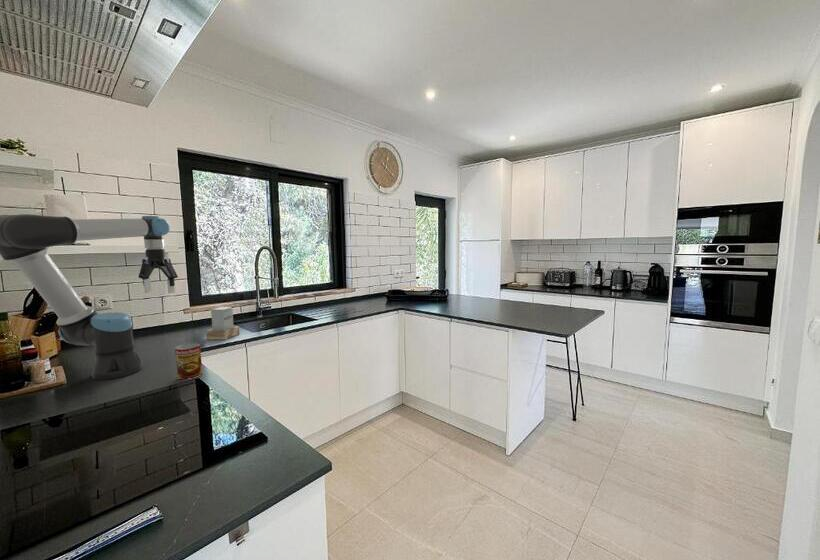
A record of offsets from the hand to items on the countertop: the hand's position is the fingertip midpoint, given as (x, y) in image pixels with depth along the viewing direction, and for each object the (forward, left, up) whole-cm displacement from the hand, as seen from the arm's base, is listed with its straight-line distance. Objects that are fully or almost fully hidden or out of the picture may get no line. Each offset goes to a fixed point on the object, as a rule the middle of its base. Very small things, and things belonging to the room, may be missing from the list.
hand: (159, 292), depth 166 cm
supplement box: (+19, -17, -24) cm, 35 cm away
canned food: (-30, -44, -27) cm, 60 cm away
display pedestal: (+19, -17, -27) cm, 37 cm away
